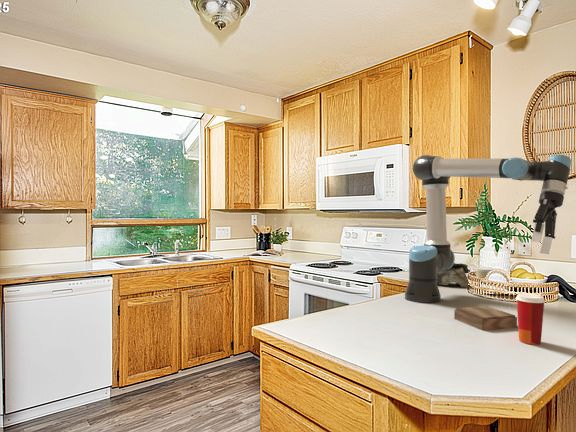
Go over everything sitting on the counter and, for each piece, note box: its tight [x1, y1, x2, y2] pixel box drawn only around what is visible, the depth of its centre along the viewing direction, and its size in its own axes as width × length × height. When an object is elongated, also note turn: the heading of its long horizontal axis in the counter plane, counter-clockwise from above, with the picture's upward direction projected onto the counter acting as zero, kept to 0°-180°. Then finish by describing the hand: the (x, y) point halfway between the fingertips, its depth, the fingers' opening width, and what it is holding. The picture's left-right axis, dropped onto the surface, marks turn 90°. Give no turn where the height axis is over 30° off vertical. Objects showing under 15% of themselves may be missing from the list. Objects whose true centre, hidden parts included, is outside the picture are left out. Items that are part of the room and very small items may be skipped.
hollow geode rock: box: [437, 262, 471, 288], centre depth 210 cm, size 28×13×15 cm
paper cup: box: [514, 293, 546, 346], centre depth 120 cm, size 8×8×14 cm
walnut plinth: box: [453, 305, 518, 331], centre depth 140 cm, size 14×14×4 cm
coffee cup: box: [475, 266, 496, 278], centre depth 189 cm, size 9×9×12 cm
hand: (540, 247), depth 144 cm, fingers open, 13 cm apart
